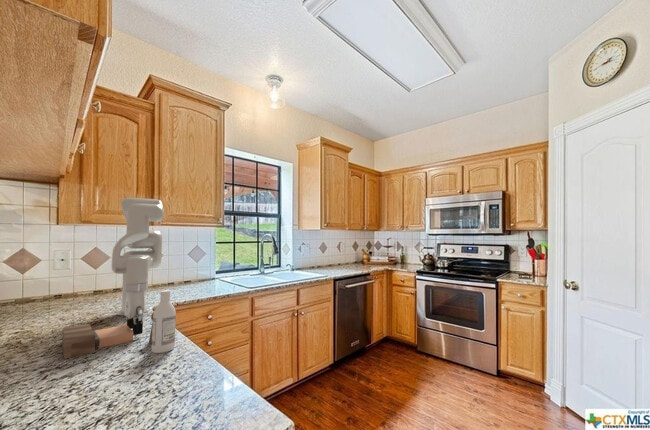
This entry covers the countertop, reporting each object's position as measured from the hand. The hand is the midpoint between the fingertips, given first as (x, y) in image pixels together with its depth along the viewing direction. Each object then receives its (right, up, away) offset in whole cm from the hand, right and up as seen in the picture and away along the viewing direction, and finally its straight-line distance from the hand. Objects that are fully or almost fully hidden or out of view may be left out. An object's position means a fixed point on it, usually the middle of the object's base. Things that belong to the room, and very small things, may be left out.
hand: (134, 331), depth 111 cm
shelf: (-12, -1, -12) cm, 17 cm away
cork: (+13, -1, -6) cm, 15 cm away
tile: (-5, -2, -5) cm, 7 cm away
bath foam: (+20, -1, -14) cm, 24 cm away
